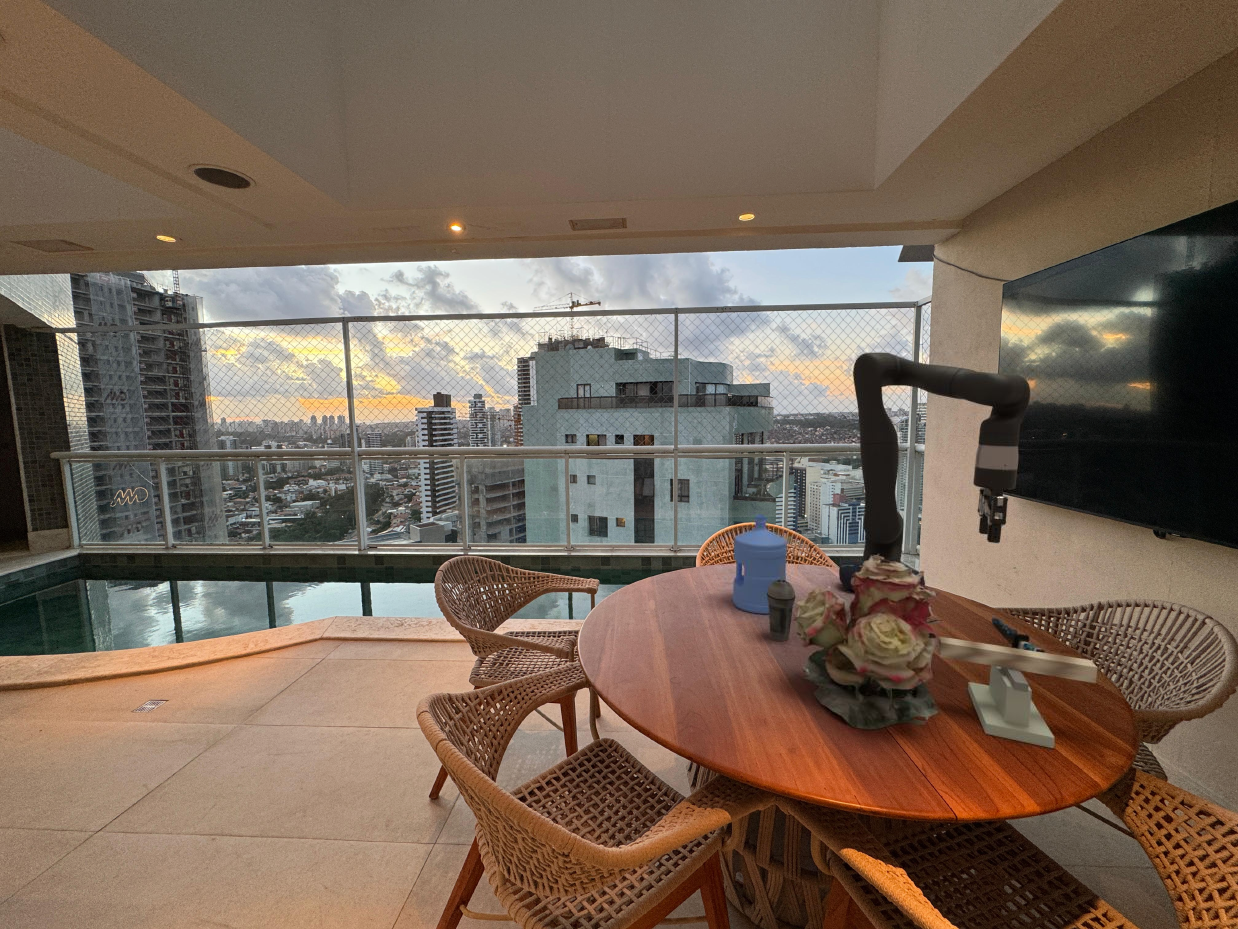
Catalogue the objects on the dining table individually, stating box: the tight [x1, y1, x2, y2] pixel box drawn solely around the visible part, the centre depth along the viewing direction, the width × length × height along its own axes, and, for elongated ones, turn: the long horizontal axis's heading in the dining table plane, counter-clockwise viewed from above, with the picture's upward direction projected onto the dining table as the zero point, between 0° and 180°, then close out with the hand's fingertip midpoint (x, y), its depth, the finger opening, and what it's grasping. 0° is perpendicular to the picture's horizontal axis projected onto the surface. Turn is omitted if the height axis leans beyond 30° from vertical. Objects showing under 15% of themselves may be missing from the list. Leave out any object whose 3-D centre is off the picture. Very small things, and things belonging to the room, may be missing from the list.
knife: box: [991, 617, 1046, 653], centre depth 129 cm, size 31×3×4 cm, turn 158°
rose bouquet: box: [792, 554, 943, 731], centre depth 104 cm, size 26×29×30 cm
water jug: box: [732, 514, 788, 615], centre depth 155 cm, size 16×16×28 cm
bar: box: [937, 636, 1098, 684], centre depth 98 cm, size 24×3×3 cm, turn 65°
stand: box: [967, 665, 1056, 749], centre depth 98 cm, size 16×10×10 cm, turn 155°
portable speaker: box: [838, 559, 926, 592], centre depth 165 cm, size 25×10×10 cm, turn 55°
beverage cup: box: [767, 565, 796, 642], centre depth 133 cm, size 7×7×20 cm
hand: (988, 538), depth 113 cm, fingers open, 8 cm apart
